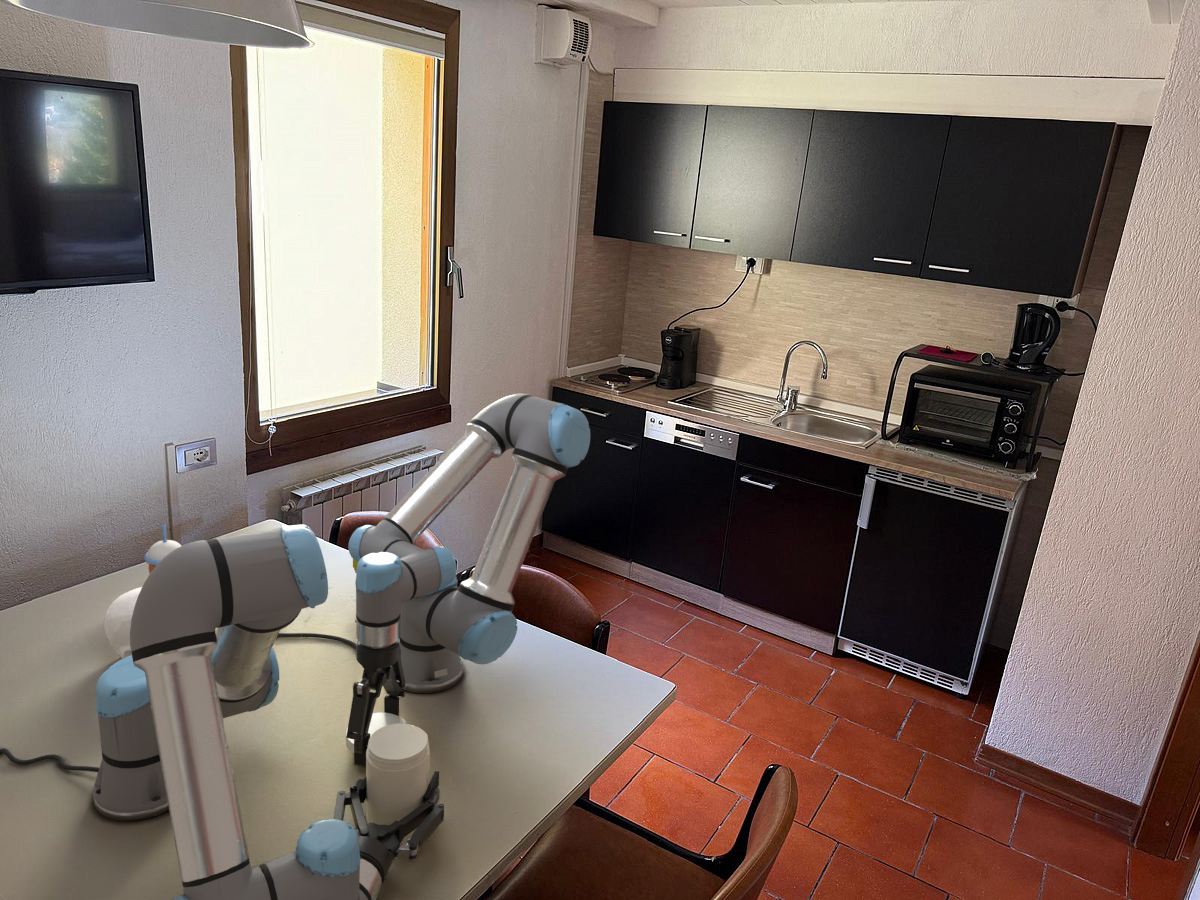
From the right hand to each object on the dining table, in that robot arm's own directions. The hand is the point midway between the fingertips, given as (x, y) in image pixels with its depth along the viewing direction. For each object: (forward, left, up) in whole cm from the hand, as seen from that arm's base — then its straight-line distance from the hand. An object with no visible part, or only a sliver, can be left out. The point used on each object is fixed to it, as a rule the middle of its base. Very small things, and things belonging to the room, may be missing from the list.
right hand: (377, 745), depth 157 cm
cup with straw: (-81, +18, -1) cm, 83 cm away
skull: (-58, -2, -1) cm, 58 cm away
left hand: (+13, -8, +5) cm, 17 cm away
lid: (0, 0, +3) cm, 3 cm away
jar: (+15, -12, -1) cm, 19 cm away
